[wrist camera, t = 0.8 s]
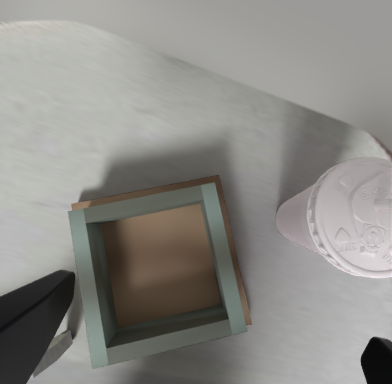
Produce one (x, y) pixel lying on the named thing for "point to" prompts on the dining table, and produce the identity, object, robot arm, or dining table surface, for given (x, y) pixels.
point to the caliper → (54, 351)
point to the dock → (157, 270)
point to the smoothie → (346, 217)
